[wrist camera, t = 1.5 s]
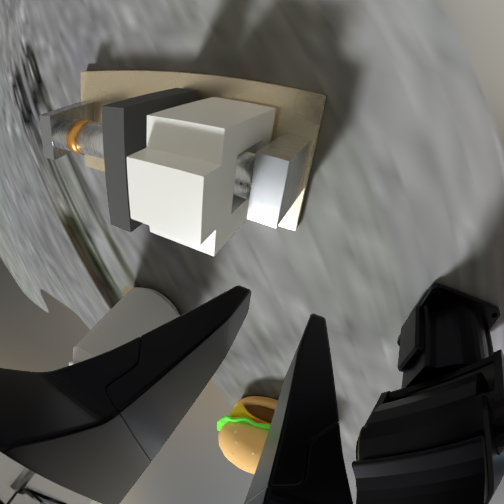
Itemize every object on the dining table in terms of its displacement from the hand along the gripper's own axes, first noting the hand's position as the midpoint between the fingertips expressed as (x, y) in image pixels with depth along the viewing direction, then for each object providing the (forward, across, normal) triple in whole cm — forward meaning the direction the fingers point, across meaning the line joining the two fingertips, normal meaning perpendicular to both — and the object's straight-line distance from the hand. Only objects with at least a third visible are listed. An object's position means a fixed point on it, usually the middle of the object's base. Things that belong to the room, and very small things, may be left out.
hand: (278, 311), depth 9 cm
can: (+12, +14, +20) cm, 28 cm away
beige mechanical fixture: (+12, +12, 0) cm, 17 cm away
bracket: (+12, +6, 0) cm, 14 cm away
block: (+12, +10, 0) cm, 16 cm away
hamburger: (+12, -2, +32) cm, 34 cm away
